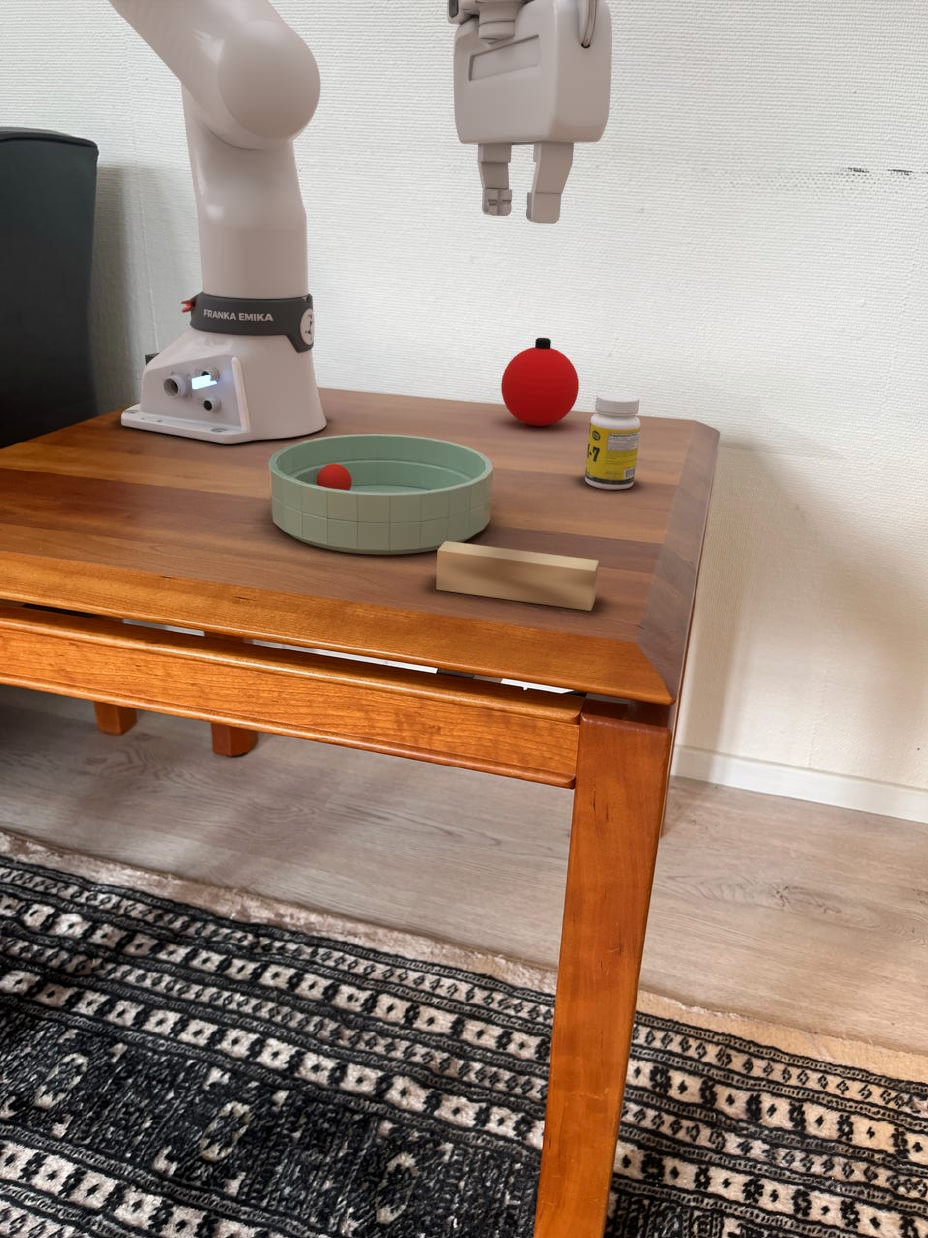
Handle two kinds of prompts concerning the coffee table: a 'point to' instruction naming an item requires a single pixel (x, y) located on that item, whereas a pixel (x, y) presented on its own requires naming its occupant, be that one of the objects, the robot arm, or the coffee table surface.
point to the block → (517, 575)
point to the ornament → (540, 385)
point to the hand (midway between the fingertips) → (517, 219)
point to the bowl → (381, 493)
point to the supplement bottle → (613, 441)
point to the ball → (334, 477)
